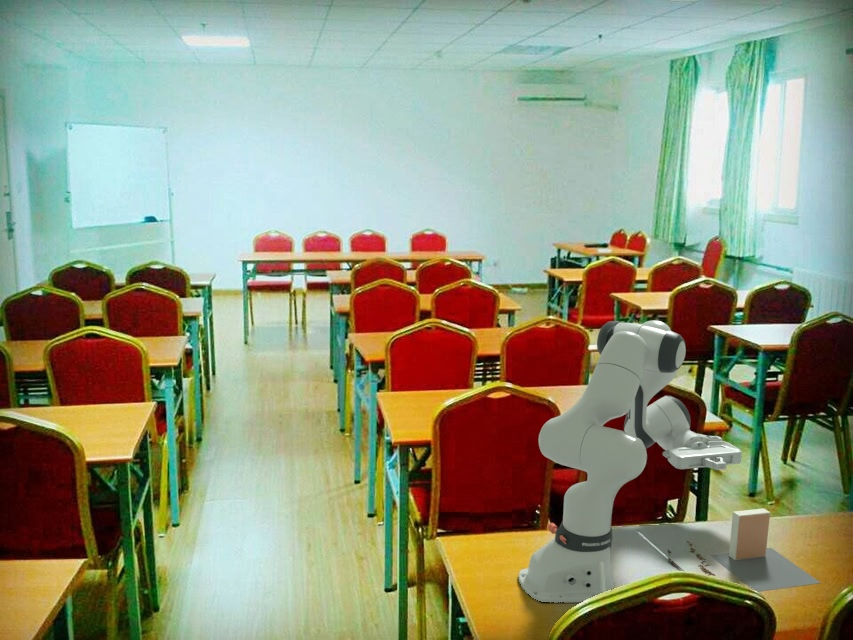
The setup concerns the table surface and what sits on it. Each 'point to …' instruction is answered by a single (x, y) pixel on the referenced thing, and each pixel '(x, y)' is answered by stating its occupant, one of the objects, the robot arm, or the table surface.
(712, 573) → the wooden fragment
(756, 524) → the tile
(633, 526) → the table surface
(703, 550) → the table surface
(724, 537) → the table surface
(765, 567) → the mat
